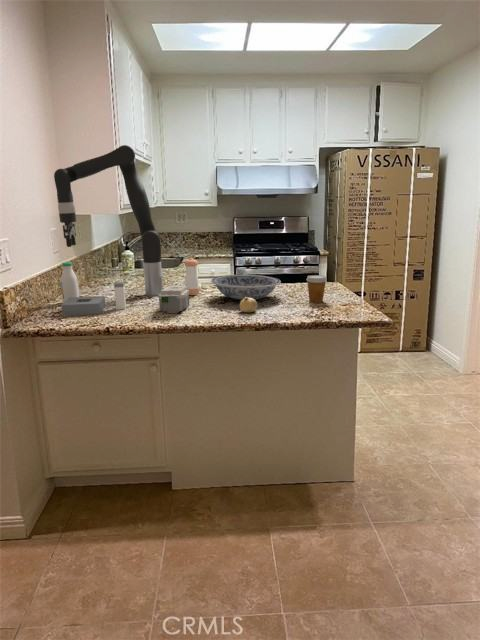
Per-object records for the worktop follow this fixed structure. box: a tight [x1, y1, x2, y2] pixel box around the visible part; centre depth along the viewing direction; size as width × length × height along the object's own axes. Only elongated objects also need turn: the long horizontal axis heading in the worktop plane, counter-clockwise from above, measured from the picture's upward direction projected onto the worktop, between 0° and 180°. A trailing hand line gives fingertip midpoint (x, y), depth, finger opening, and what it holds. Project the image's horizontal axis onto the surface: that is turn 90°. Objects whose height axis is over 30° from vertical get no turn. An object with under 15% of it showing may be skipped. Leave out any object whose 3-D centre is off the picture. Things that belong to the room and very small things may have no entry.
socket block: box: [61, 295, 106, 317], centre depth 208 cm, size 16×16×5 cm
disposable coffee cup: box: [305, 274, 327, 304], centre depth 218 cm, size 10×10×12 cm
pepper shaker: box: [183, 257, 200, 296], centre depth 239 cm, size 7×7×19 cm
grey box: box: [157, 285, 190, 314], centre depth 209 cm, size 12×28×10 cm, turn 178°
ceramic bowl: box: [210, 274, 282, 301], centre depth 227 cm, size 34×34×10 cm
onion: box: [239, 297, 259, 313], centre depth 201 cm, size 8×8×7 cm
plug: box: [113, 281, 127, 311], centre depth 211 cm, size 4×4×12 cm
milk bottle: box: [60, 261, 80, 304], centre depth 224 cm, size 8×8×20 cm
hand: (71, 245), depth 226 cm, fingers open, 8 cm apart
